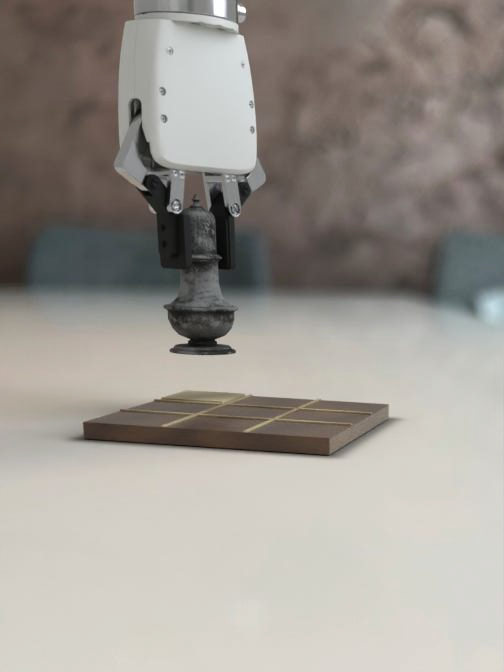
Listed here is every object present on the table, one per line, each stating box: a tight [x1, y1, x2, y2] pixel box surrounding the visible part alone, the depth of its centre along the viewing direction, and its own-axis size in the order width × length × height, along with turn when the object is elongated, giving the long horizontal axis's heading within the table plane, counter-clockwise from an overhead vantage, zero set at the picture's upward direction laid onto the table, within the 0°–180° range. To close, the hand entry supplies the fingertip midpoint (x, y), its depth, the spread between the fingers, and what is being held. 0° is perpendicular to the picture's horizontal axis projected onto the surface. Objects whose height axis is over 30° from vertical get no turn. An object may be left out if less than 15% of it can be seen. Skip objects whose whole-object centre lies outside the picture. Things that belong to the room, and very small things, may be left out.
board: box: [82, 389, 390, 456], centre depth 85 cm, size 18×18×1 cm
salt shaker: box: [162, 193, 239, 356], centre depth 88 cm, size 6×6×12 cm
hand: (198, 266), depth 88 cm, fingers closed on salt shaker, 3 cm apart
